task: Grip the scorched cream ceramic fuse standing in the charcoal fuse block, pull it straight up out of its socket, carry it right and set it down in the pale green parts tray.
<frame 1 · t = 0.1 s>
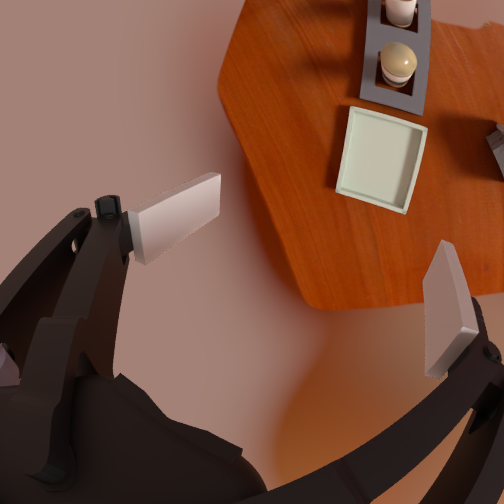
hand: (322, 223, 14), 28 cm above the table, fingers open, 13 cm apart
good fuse: (399, 17, 22), resting in fuse block
fuse block: (397, 45, 25), on the table
electrical switch: (500, 158, 25), on the table
parts tray: (381, 158, 35), on the table
blown fuse: (395, 75, 28), resting in fuse block
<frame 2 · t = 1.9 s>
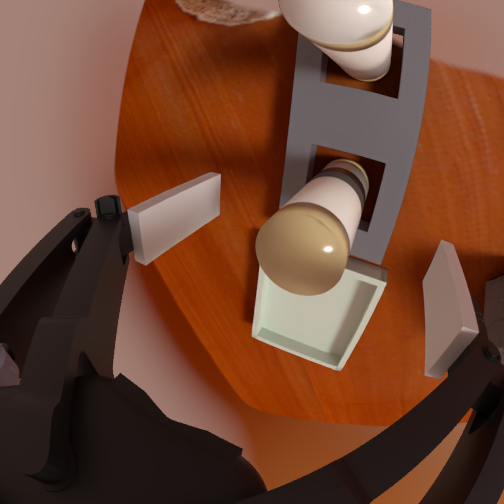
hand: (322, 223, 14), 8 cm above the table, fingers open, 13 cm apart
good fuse: (364, 58, 14), resting in fuse block
fuse block: (356, 120, 17), on the table
electrical switch: (501, 306, 17), on the table
parts tray: (313, 303, 27), on the table
blown fuse: (345, 181, 20), resting in fuse block
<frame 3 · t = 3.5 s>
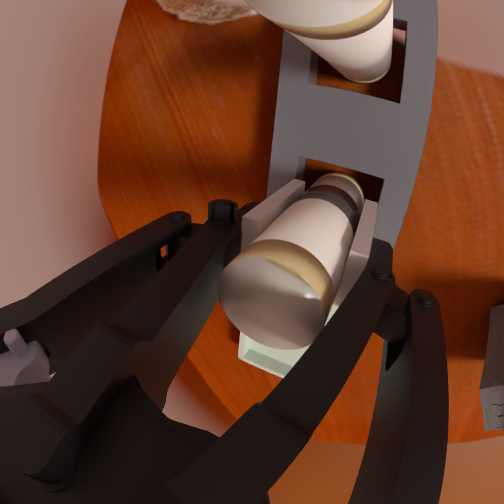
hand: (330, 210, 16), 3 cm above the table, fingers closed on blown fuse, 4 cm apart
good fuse: (361, 56, 12), resting in fuse block
fuse block: (351, 127, 15), on the table
parts tray: (303, 327, 25), on the table
blown fuse: (338, 198, 18), resting in fuse block, touching gripper
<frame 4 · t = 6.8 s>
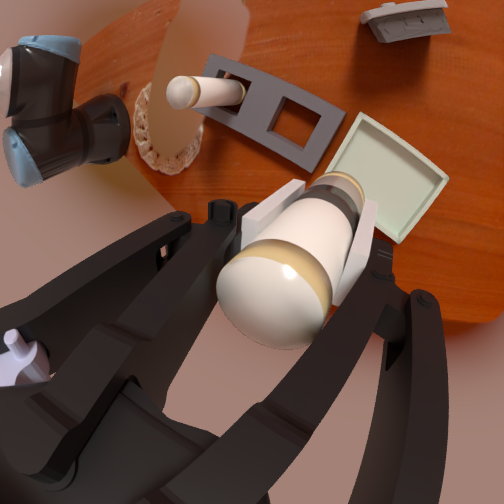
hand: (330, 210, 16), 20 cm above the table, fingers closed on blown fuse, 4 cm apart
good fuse: (235, 92, 33), resting in fuse block
fuse block: (265, 106, 33), on the table
electrical switch: (402, 29, 20), on the table
parts tray: (383, 176, 31), on the table
blown fuse: (337, 198, 18), point 17 cm above the table, touching gripper
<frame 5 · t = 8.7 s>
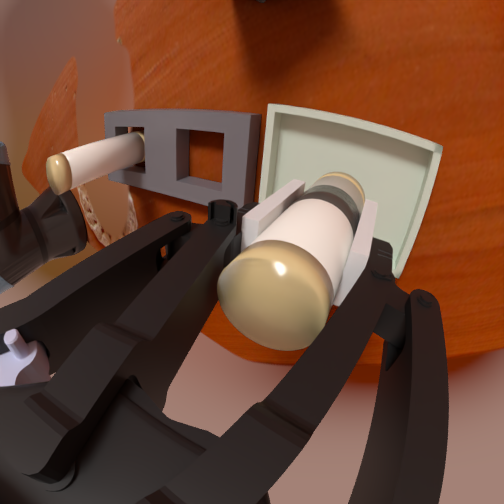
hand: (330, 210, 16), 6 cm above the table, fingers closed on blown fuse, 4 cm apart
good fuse: (142, 145, 29), resting in fuse block
fuse block: (172, 149, 27), on the table
parts tray: (345, 184, 21), on the table
blown fuse: (338, 198, 18), point 4 cm above the table, touching gripper
when the fingers open (3 cm above the table, at t = 10.2 s): blown fuse stays where it is, resting on parts tray.
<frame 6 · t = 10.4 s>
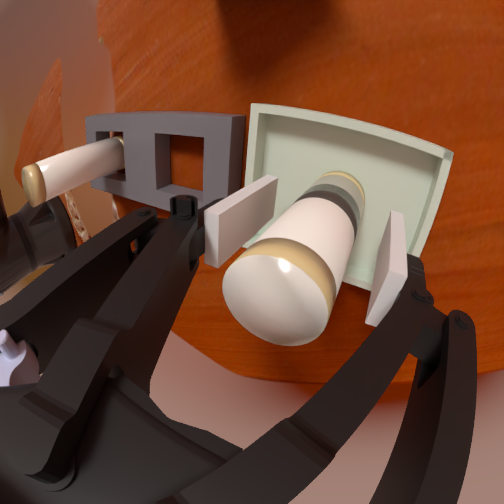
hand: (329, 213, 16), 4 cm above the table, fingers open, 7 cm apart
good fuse: (123, 151, 26), resting in fuse block
fuse block: (153, 154, 25), on the table
parts tray: (340, 195, 19), on the table
blown fuse: (338, 197, 18), point 1 cm above the table, touching parts tray
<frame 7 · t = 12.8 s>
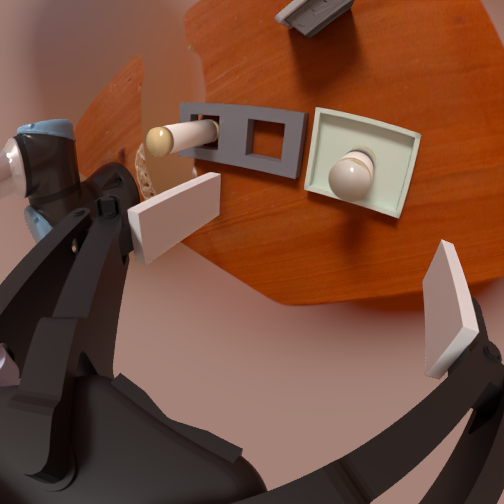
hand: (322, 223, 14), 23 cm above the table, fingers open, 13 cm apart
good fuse: (211, 130, 39), resting in fuse block
fuse block: (239, 133, 38), on the table
electrical switch: (326, 17, 24), on the table
parts tray: (362, 159, 32), on the table
blown fuse: (361, 160, 31), resting on parts tray
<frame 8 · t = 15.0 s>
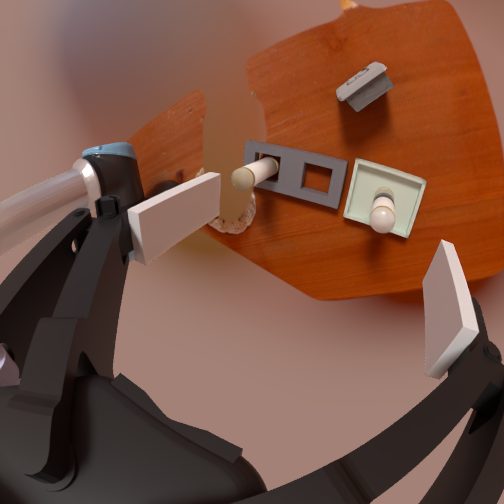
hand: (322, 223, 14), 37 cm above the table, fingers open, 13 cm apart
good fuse: (270, 165, 53), resting in fuse block
fuse block: (294, 170, 51), on the table
electrical switch: (366, 86, 37), on the table
parts tray: (384, 196, 45), on the table
blown fuse: (384, 197, 45), resting on parts tray
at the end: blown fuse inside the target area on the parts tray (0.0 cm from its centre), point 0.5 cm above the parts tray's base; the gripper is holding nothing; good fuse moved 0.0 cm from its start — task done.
